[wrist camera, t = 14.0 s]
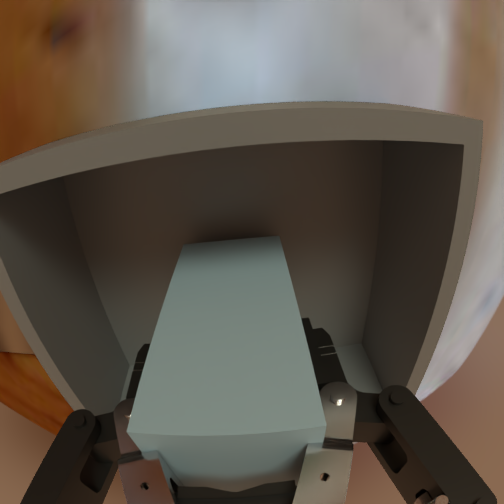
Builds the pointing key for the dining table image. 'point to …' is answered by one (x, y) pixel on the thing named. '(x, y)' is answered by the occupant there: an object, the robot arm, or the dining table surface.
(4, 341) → the stud block
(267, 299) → the pale grey rectangular block
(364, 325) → the bin
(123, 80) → the dining table surface
